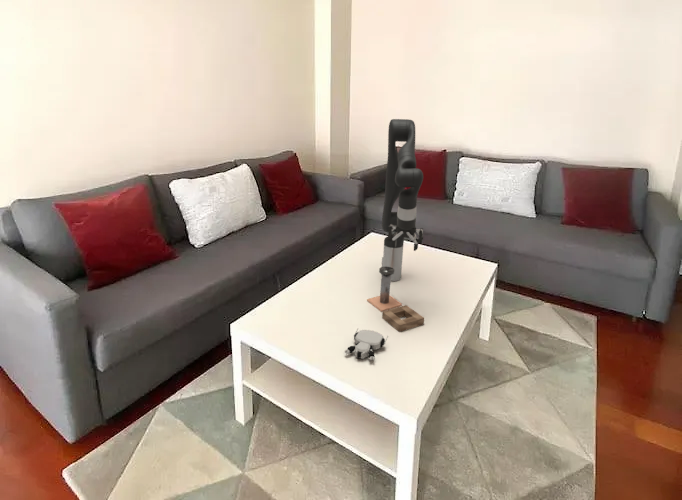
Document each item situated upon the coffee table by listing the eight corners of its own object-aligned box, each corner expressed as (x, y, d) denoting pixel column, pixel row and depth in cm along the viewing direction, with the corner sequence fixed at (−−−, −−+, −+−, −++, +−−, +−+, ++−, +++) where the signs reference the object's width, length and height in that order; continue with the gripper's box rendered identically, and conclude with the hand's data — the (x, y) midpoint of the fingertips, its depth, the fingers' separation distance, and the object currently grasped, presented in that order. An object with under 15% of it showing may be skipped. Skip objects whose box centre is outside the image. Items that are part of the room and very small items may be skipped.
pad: (366, 300, 203) (367, 299, 203) (387, 295, 208) (387, 293, 208) (381, 311, 194) (381, 310, 194) (402, 305, 200) (402, 304, 199)
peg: (374, 299, 202) (376, 268, 197) (385, 297, 205) (388, 265, 200) (382, 306, 197) (385, 273, 192) (394, 303, 200) (397, 270, 195)
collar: (382, 318, 190) (382, 311, 189) (405, 311, 195) (406, 305, 194) (399, 332, 180) (400, 325, 179) (423, 324, 186) (424, 317, 184)
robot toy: (374, 367, 160) (388, 343, 173) (374, 357, 158) (389, 333, 171) (342, 358, 165) (358, 335, 177) (342, 348, 163) (358, 325, 175)
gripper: (426, 212, 186) (423, 246, 195) (391, 208, 190) (390, 240, 199) (422, 222, 180) (420, 256, 189) (387, 217, 184) (386, 250, 193)
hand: (404, 248), depth 194 cm, fingers open, 8 cm apart
